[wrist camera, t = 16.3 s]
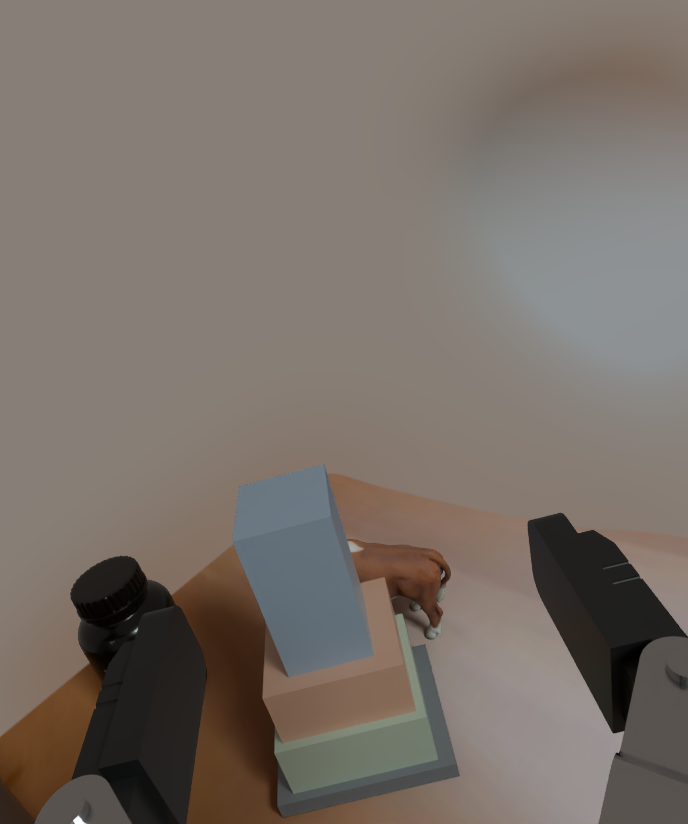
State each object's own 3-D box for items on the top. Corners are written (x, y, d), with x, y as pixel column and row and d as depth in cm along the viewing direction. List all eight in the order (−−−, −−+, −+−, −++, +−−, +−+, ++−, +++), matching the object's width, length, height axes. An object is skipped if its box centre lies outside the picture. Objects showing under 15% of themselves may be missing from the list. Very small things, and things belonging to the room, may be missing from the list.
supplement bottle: (226, 665, 47) (171, 551, 42) (171, 744, 42) (101, 625, 37) (163, 648, 51) (105, 540, 45) (106, 719, 46) (33, 607, 40)
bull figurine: (322, 580, 53) (298, 509, 50) (466, 609, 47) (450, 528, 43) (298, 617, 50) (270, 543, 47) (449, 654, 43) (430, 570, 40)
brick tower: (282, 817, 36) (234, 721, 32) (283, 690, 44) (245, 600, 40) (459, 775, 36) (433, 672, 32) (427, 655, 44) (404, 561, 40)
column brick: (288, 677, 34) (232, 541, 29) (287, 612, 38) (239, 486, 34) (374, 655, 33) (330, 516, 29) (363, 593, 38) (324, 464, 34)
